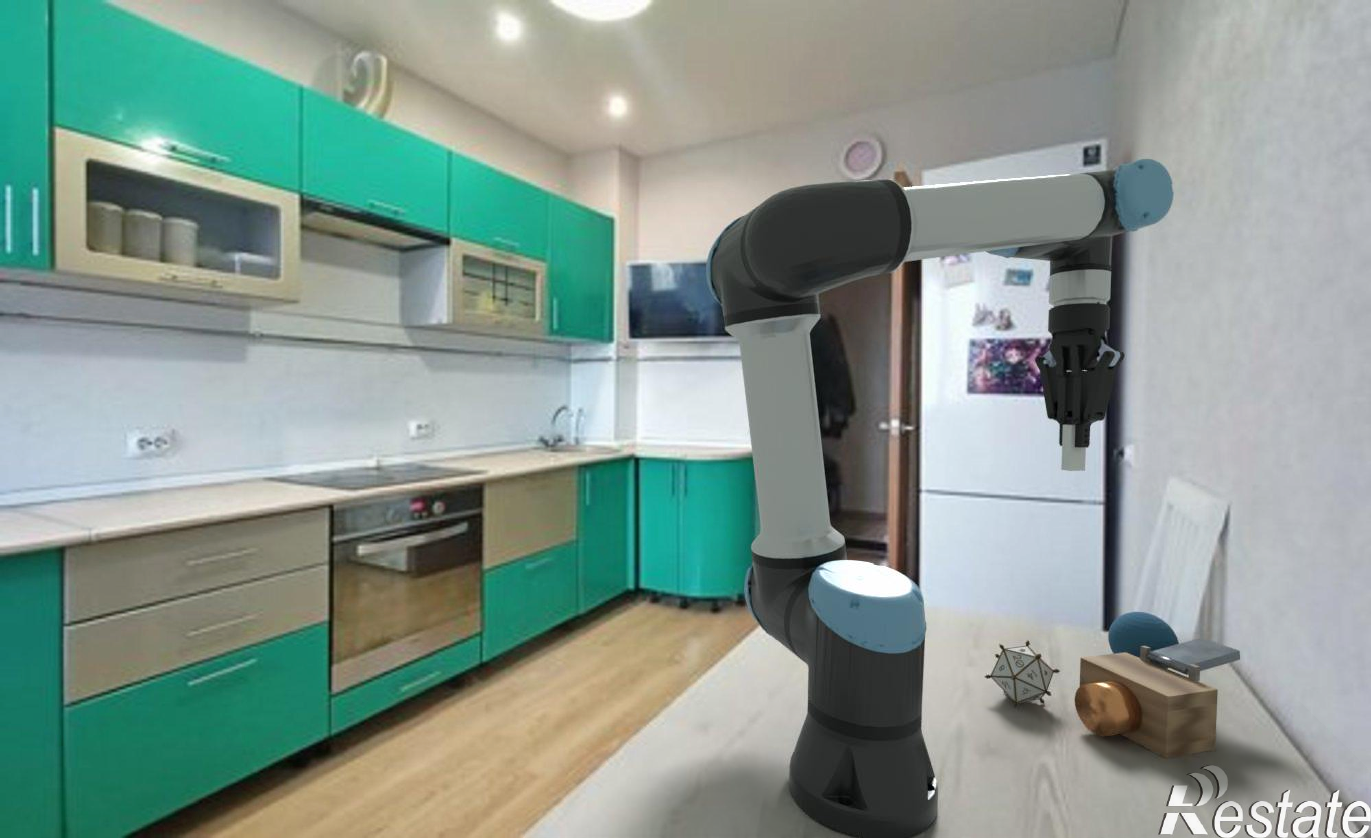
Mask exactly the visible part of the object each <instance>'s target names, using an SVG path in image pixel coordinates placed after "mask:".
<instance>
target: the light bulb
mask: <svg viewBox="0 0 1371 838" xmlns="http://www.w3.org/2000/svg"><path fill="white" fill-rule="evenodd" d="M1107 638H1108V639H1107V640H1108V645H1109V646H1110V650H1111V652H1112V654H1116V653H1125V652H1126V653H1129V654H1131V655H1134V656H1136V657H1139V658H1140V649H1141V646H1147V647H1150V648H1151V651H1154V650H1158V649H1162V648H1165V647H1169V646H1173V645H1177V644H1180V643H1179V639H1178V636H1177V634H1176V633H1175V631H1174V630H1173V628H1172V627H1171V626H1170V625H1169V624H1168V623H1167V622H1166V621H1165V620H1164V619H1162V618H1160V617H1158V616H1157V615H1154V614H1152V613H1148V612H1146V611H1132V612H1131V611H1130V612H1127V613H1123V614H1122V615H1121V614H1120V616H1117V618H1115V619H1114V620H1113V621H1112V623H1111V625H1110V627H1109V629H1108V635H1107ZM1149 662H1151V663H1153V664H1156V665H1158V666H1161V667H1163V668H1166V669H1168V670H1169V668H1168V667H1166V666H1163V665H1161V664H1158V663H1156V662H1153V661H1151V660H1150V661H1149Z"/></svg>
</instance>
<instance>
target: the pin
mask: <svg viewBox="0 0 1371 838" xmlns="http://www.w3.org/2000/svg"><path fill="white" fill-rule="evenodd" d="M1074 707H1075V709H1076V710H1075V711H1076V714H1077V716H1078V717H1079V720H1080V721H1081V722H1082V724H1083V725H1084V727H1086V728H1087V730H1089V731H1090V732H1091V733H1093V734H1094V735H1097V736H1100V737H1109V736H1115V735H1122V733H1128V732H1133V731H1135V730H1137V729H1138V728H1139V727H1140V725H1141V722H1142V710H1141V706H1140V704H1139V701H1138V699H1137V698H1136V696H1135V695H1134V693H1133V692H1132V691H1131V690H1130V689H1129V688H1128V687H1127V686H1125V685H1124V684H1122V683H1120V682H1117V681H1106V682H1099V683H1091V684H1085V685H1082V686H1080V685H1079V686H1078V688H1077V689H1076V691H1075V695H1074Z"/></svg>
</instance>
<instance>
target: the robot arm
mask: <svg viewBox="0 0 1371 838" xmlns="http://www.w3.org/2000/svg"><path fill="white" fill-rule="evenodd" d="M1173 200H1174V189H1173V180H1172V176H1171V174H1170V173H1169V171H1168V169H1167V168H1166V167H1165V165H1163V164H1162V163H1160V162H1159V161H1158V160H1155V159H1153V158H1141V159H1137V160H1135V161H1132V162H1123V163H1121V164H1119V165H1118V166H1117V167H1113V168H1110V169H1107V170H1106V169H1105V170H1102V171H1101V170H1100V171H1090V172H1081V173H1069V174H1067V173H1066V174H1057V175H1056V174H1055V175H1046V176H1032V177H1019V178H1008V179H996V180H983V181H973V182H971V181H970V182H960V183H949V184H948V183H947V184H935V185H924V186H922V185H920V186H912V187H911V186H909V187H908V186H907V187H903V186H902V185H901V184H900V183H899V182H897V181H895V180H894V179H891V178H880V179H869V180H868V179H867V180H855V181H853V180H852V181H835V182H825V183H824V182H823V183H816V184H814V183H813V184H805V185H799V186H796V187H790V188H788V189H784V190H781V191H778V192H777V193H775V194H772V195H771V196H769V197H767V198H766V199H765V200H764V201H763V202H761V203H760V204H759V205H757V206H756V207H755V208H753V209H752V210H750V211H749V212H748V213H746V214H744V215H742V216H740V217H738V218H736V219H734V220H732V221H731V223H730V224H728V225H726V226H725V228H724V229H723V230H722V231H721V233H720V234H719V235H718V237H717V238H716V239H715V240H714V242H713V244H712V245H711V247H710V250H709V253H708V256H707V259H706V266H705V267H706V268H705V269H706V270H705V271H706V272H705V273H706V281H707V282H706V283H707V286H708V288H709V291H710V293H711V295H712V297H713V299H714V300H715V302H717V303H718V304H719V305H720V306H721V307H722V313H723V314H722V316H723V321H724V329H725V331H726V332H727V333H728V334H729V335H731V336H732V337H733V338H734V339H735V340H736V341H738V344H739V353H740V359H741V369H742V376H743V385H744V394H745V402H746V410H747V419H748V421H747V422H748V427H749V435H750V445H751V452H752V462H753V471H754V479H755V485H756V486H755V487H756V495H757V503H758V512H759V523H760V533H759V534H758V536H757V537H755V539H754V540H753V541H752V543H751V545H750V546H751V548H750V550H751V556H752V557H751V558H752V563H751V565H750V567H748V568H747V570H746V574H745V577H744V586H743V588H744V589H743V590H744V597H745V602H746V605H747V608H748V610H749V612H750V614H751V615H752V617H753V619H754V620H755V621H756V622H757V624H758V626H760V627H761V629H762V630H763V631H764V632H765V633H766V634H767V635H769V636H771V638H774V640H775V641H777V642H779V643H780V644H781V645H783V646H784V647H785V648H786V649H787V650H789V652H791V653H793V654H794V655H795V656H796V657H797V658H799V659H800V661H802V662H804V663H805V664H806V665H807V669H808V673H807V675H808V676H807V677H808V678H807V682H808V683H807V708H806V709H807V713H806V716H805V719H804V721H803V724H802V726H801V730H800V732H799V736H798V738H797V740H796V744H795V748H794V750H793V752H792V755H791V757H790V761H789V772H788V776H789V778H788V779H789V780H788V786H789V790H790V794H791V796H792V798H793V799H794V801H795V803H796V804H797V806H799V807H800V809H802V811H804V812H805V813H806V814H808V816H810V817H811V818H812V819H814V820H815V821H817V822H819V823H821V825H822V824H823V825H824V826H826V827H828V828H830V829H833V830H836V831H838V832H839V833H840V832H841V833H844V834H846V835H850V836H854V837H859V838H909V837H913V836H915V835H918V834H920V833H922V832H924V831H925V830H926V829H928V828H929V827H930V826H932V824H933V823H934V822H935V820H936V818H937V815H938V808H939V807H938V803H939V801H938V800H939V799H938V798H939V789H938V787H939V786H938V783H937V778H936V775H935V771H934V768H933V765H932V762H931V759H930V755H929V750H928V748H927V744H926V742H925V737H924V734H923V730H922V722H923V717H922V716H923V712H922V711H923V691H924V673H925V672H924V667H925V666H924V665H925V648H926V647H925V644H926V632H927V622H926V613H925V612H926V611H925V600H924V596H923V593H922V591H921V589H920V588H919V586H918V585H917V584H916V583H915V582H914V581H913V580H912V579H911V578H910V577H907V576H906V575H905V574H903V573H902V572H900V571H898V570H896V569H894V568H890V567H887V566H884V565H875V564H874V563H873V562H869V561H861V560H854V559H853V560H852V559H848V558H847V557H848V556H847V548H846V541H845V540H846V539H845V536H844V535H843V534H842V533H840V532H839V531H838V530H836V529H835V528H834V527H833V526H832V524H831V520H830V509H829V499H828V491H827V482H826V474H825V472H826V471H825V465H824V464H825V463H824V455H823V444H822V438H821V436H822V435H821V428H820V417H819V409H818V408H819V407H818V400H817V391H816V390H817V389H816V382H815V373H814V371H815V370H814V364H813V356H812V355H813V354H812V353H813V352H812V346H811V345H812V344H811V343H812V342H811V335H810V334H811V331H812V330H813V328H814V327H815V325H816V324H817V323H818V321H819V320H820V319H821V310H820V300H819V299H820V297H819V294H822V293H823V292H826V291H828V290H831V289H835V288H837V287H840V286H842V285H845V284H847V283H850V282H853V281H857V280H860V279H864V278H869V277H873V276H878V275H886V274H887V275H888V274H890V273H894V272H895V271H897V270H899V268H901V267H902V266H903V264H904V263H905V262H906V263H907V262H913V261H919V260H927V259H928V260H929V259H935V258H944V257H952V256H959V255H966V254H975V253H983V252H985V253H987V254H990V255H993V256H999V257H1003V258H1005V259H1010V258H1013V259H1025V260H1038V261H1047V262H1049V291H1048V303H1049V304H1050V305H1051V308H1050V309H1048V318H1047V319H1048V321H1047V331H1048V332H1049V334H1050V335H1051V336H1052V337H1051V341H1050V343H1049V346H1048V349H1049V350H1048V351H1047V352H1046V353H1044V355H1038V356H1035V358H1034V362H1035V365H1036V366H1037V368H1038V370H1039V373H1040V379H1041V386H1042V392H1043V397H1044V403H1045V404H1044V405H1045V410H1046V417H1047V419H1049V420H1053V421H1055V422H1057V423H1058V424H1059V432H1058V433H1059V436H1058V437H1059V438H1058V443H1059V447H1061V467H1060V469H1061V470H1062V471H1069V472H1073V471H1075V472H1081V471H1082V472H1083V471H1086V456H1087V455H1086V452H1087V449H1088V448H1090V441H1091V438H1090V436H1091V426H1092V424H1093V423H1097V422H1099V421H1100V422H1101V421H1103V420H1105V418H1106V414H1107V410H1108V406H1109V402H1110V400H1111V399H1110V398H1111V395H1112V390H1113V386H1114V383H1115V378H1116V375H1117V371H1118V368H1119V367H1120V365H1121V363H1122V362H1123V360H1124V359H1125V352H1124V351H1120V350H1115V349H1113V348H1112V347H1110V345H1109V341H1108V339H1107V337H1106V335H1107V334H1106V332H1108V330H1110V322H1111V307H1110V306H1109V305H1108V304H1106V303H1107V302H1109V301H1110V300H1111V287H1112V286H1111V284H1112V283H1111V282H1112V281H1111V280H1112V279H1111V278H1112V252H1113V236H1117V235H1121V234H1125V233H1130V232H1132V233H1133V232H1137V231H1138V230H1140V229H1143V228H1146V227H1149V226H1152V225H1155V224H1157V223H1159V222H1160V221H1162V220H1163V219H1164V218H1165V217H1166V216H1167V215H1168V213H1169V212H1170V209H1171V207H1172V204H1173Z"/></svg>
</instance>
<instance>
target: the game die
mask: <svg viewBox="0 0 1371 838" xmlns="http://www.w3.org/2000/svg"><path fill="white" fill-rule="evenodd" d="M1030 644H1031V642H1030V641H1029V640H1028V639H1027V641H1025V645H1021V646H1014V647H1007V648H1005V646H1004V644H1001V643H999V648H1000V650H1001V651H1000V654H998V653H995V654H994V655H995V656H994V657H995V658H997V661H996V662H995V665H994V667H993V669H992V671H991V673H990V674H986V675H985V676H984V679H991V680H992V681H994V682H995V683H996V684H997V686H999V687H1000V688H1001V689H1002V691H1003V693H1005V694H1006V695H1007V696H1008V697H1010V699H1011V700H1012V701H1013V702H1014V703H1013V708H1014V710H1016V709H1018V708H1019V704H1020V703H1027V702H1033V701H1039V702H1040V703H1041V704H1043V705H1045V700H1044V699H1043V697H1044V696H1045V695H1047V696H1048V697H1052V693H1051V691H1050V690H1049V688H1050V684H1051V681H1052V679H1053V676H1054V674H1059V673H1060V672H1061V670H1059V669H1058V668H1056V669H1053V668H1051V667H1050V666H1049V664H1048V663H1047V662H1045V661H1044V660H1043V659H1042V653H1036V652H1035V651H1034V650H1033V649H1032V648H1031V647H1030Z"/></svg>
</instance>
